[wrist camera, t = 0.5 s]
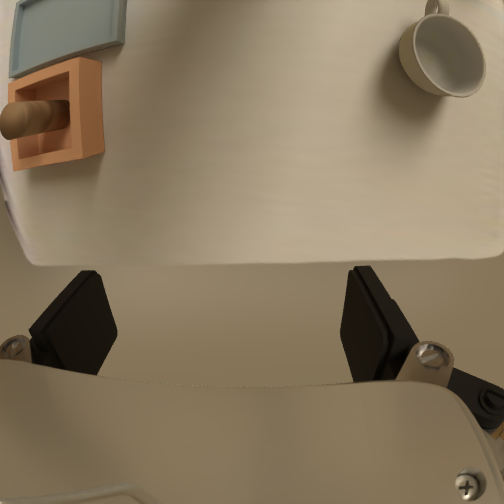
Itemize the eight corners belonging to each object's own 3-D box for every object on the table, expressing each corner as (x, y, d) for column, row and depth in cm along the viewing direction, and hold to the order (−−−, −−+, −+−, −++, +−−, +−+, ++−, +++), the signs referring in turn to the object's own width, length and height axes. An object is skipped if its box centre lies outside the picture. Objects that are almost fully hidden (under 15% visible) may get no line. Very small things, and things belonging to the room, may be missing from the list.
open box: (33, 83, 32) (8, 83, 27) (101, 62, 32) (79, 56, 26) (37, 162, 38) (13, 171, 32) (104, 151, 37) (83, 158, 32)
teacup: (449, 107, 33) (482, 109, 26) (384, 83, 33) (411, 78, 25) (455, 25, 27) (486, 16, 20) (391, -3, 27) (416, -22, 20)
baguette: (49, 103, 33) (-2, 107, 23) (72, 96, 33) (22, 98, 23) (51, 132, 35) (0, 143, 25) (74, 126, 35) (24, 135, 25)
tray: (25, 5, 25) (16, 2, 23) (130, -37, 25) (124, -43, 23) (18, 77, 31) (8, 77, 29) (124, 43, 31) (116, 40, 29)
